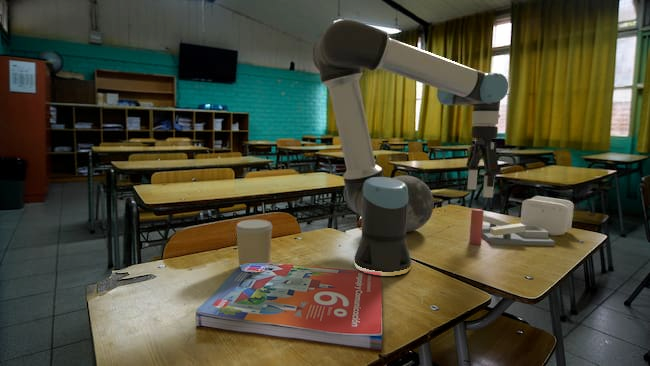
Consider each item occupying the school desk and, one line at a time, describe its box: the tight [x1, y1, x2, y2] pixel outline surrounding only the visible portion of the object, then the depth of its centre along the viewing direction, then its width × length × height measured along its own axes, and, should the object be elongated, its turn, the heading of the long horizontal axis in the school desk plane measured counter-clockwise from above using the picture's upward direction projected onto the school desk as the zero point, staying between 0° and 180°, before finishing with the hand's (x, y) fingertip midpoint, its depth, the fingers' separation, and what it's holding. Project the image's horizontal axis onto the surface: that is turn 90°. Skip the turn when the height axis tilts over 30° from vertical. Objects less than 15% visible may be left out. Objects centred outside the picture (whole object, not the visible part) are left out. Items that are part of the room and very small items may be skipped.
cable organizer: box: [519, 195, 575, 236], centre depth 139 cm, size 15×11×12 cm
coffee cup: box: [235, 218, 273, 266], centre depth 100 cm, size 9×9×12 cm
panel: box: [482, 223, 556, 247], centre depth 131 cm, size 20×18×4 cm
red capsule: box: [469, 208, 484, 246], centre depth 123 cm, size 4×4×11 cm
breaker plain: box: [483, 213, 511, 226], centre depth 136 cm, size 10×3×2 cm, turn 90°
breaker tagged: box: [490, 222, 526, 236], centre depth 125 cm, size 10×3×2 cm, turn 88°
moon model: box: [391, 174, 435, 233], centre depth 136 cm, size 20×20×20 cm
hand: (479, 193), depth 121 cm, fingers open, 13 cm apart
